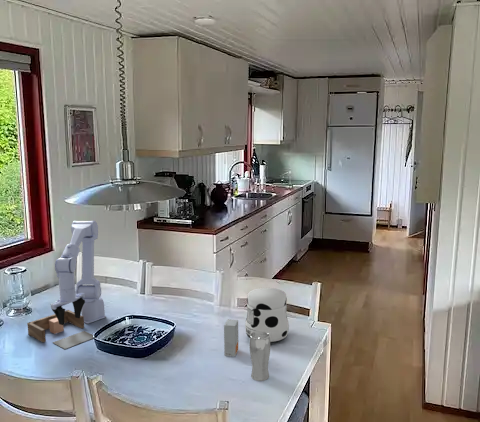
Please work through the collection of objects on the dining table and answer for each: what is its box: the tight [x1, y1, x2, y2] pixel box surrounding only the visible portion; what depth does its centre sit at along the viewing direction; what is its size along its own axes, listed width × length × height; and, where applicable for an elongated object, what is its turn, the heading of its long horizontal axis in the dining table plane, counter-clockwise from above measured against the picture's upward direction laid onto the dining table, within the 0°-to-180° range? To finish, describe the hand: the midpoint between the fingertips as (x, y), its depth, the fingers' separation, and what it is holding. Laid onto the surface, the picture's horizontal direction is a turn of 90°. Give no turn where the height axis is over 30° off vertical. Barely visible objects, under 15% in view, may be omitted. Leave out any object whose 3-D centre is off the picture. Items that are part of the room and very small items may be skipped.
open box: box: [26, 309, 94, 350], centre depth 199 cm, size 18×24×5 cm
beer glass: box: [249, 331, 271, 382], centre depth 163 cm, size 7×7×15 cm
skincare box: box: [223, 318, 239, 358], centre depth 181 cm, size 6×4×12 cm
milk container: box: [244, 287, 290, 344], centre depth 193 cm, size 17×17×18 cm
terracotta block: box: [49, 318, 64, 335], centre depth 203 cm, size 4×4×5 cm
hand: (69, 320), depth 192 cm, fingers open, 7 cm apart
